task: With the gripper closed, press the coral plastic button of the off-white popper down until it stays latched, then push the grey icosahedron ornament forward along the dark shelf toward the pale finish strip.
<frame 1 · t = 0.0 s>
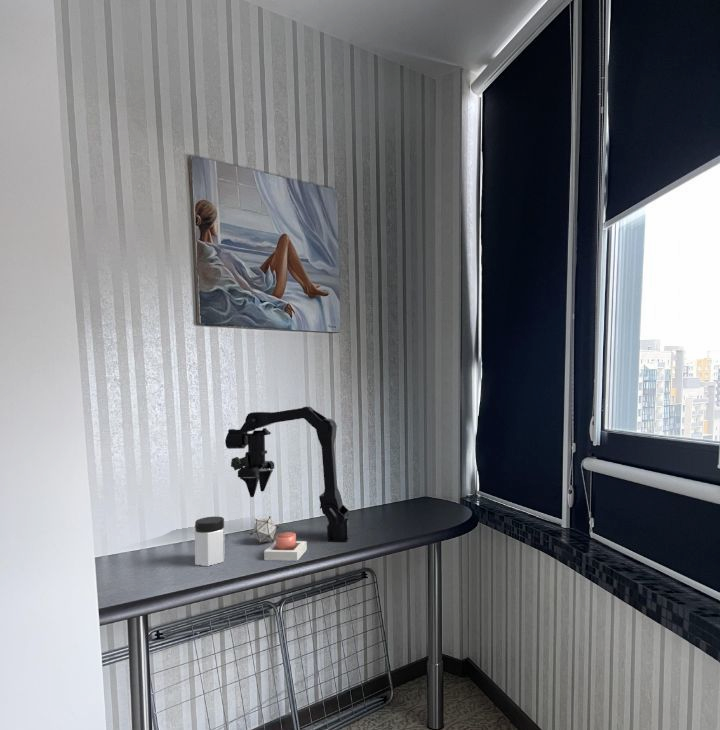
hand: (257, 494, 159), 15 cm above the table, tool pointing down, fingers open, 9 cm apart
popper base: (286, 554, 140), on the table
grey icosahedron ornament: (264, 543, 152), on the table
jar: (210, 562, 136), on the table
finish strip: (218, 543, 153), on the table
popper button: (285, 540, 140), point 4 cm above the table, slide at 0.0 cm
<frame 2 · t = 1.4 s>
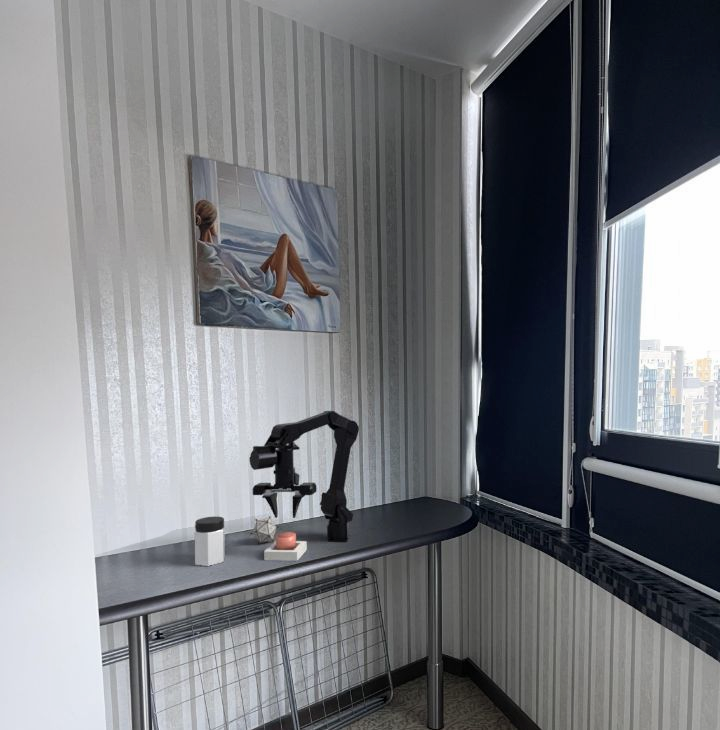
hand: (285, 517, 140), 11 cm above the table, tool pointing down, fingers open, 5 cm apart
nothing on the table moved.
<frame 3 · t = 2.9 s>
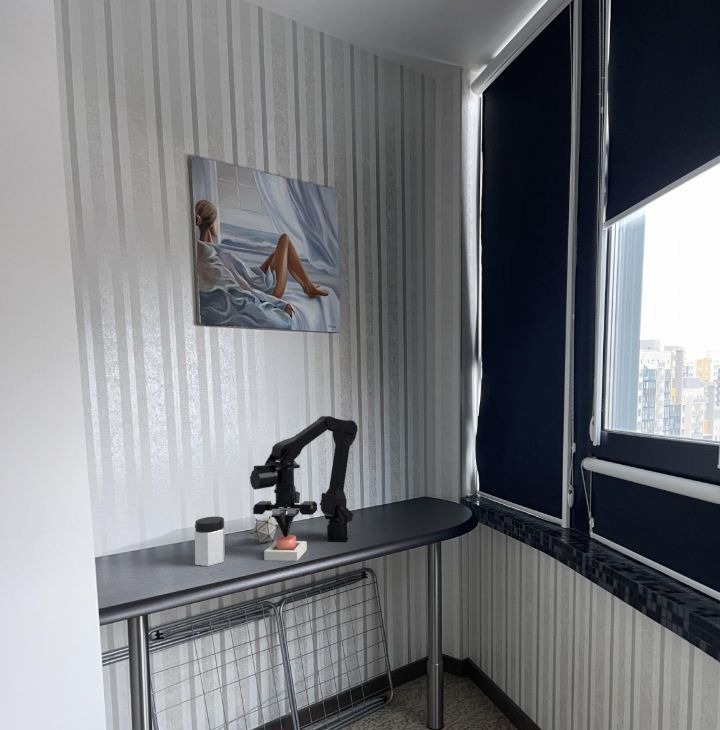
hand: (286, 536, 140), 5 cm above the table, tool pointing down, fingers closed, pressing on popper button
popper button: (285, 543, 140), point 3 cm above the table, slide at 0.8 cm, touching gripper
everything else where it was.
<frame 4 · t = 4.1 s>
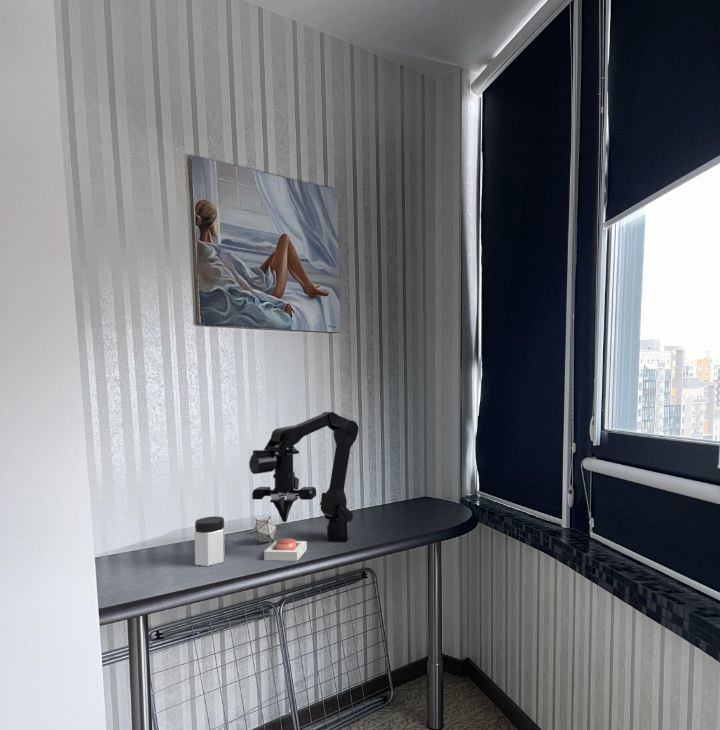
hand: (284, 521, 140), 10 cm above the table, tool pointing down, fingers closed
popper button: (286, 547, 140), point 2 cm above the table, slide at 1.9 cm
everything else where it was.
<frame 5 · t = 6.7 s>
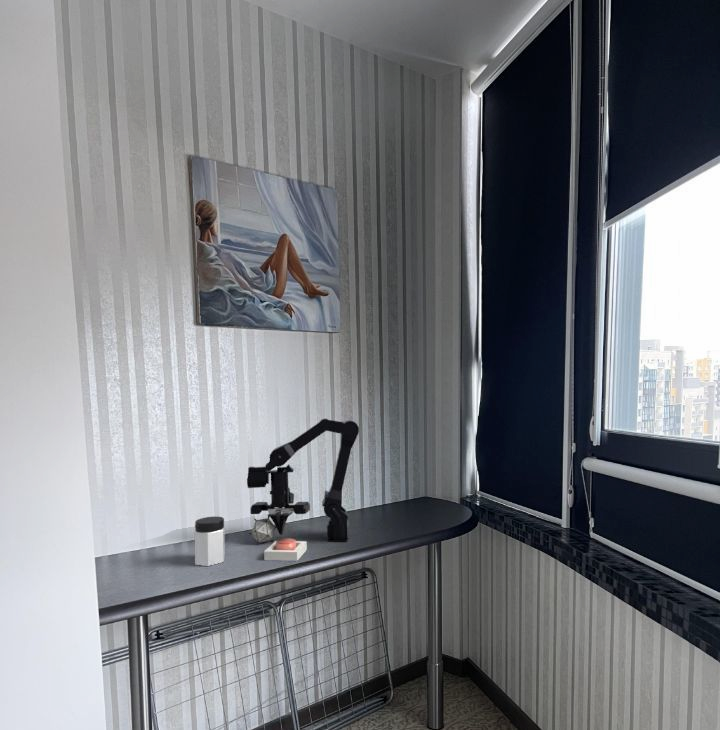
hand: (281, 534, 151), 3 cm above the table, tool pointing down, fingers closed
grey icosahedron ornament: (263, 543, 152), on the table, touching gripper
everything else where it was.
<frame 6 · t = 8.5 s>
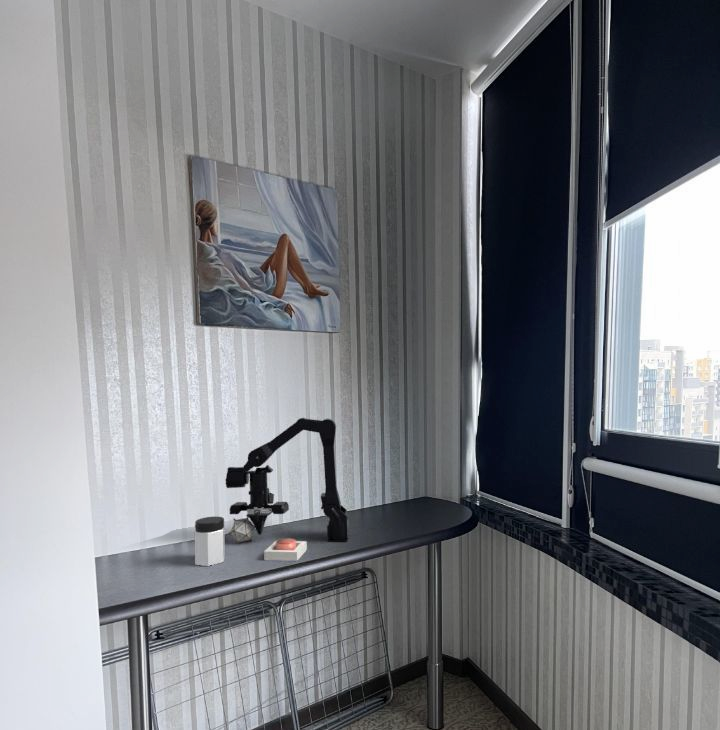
hand: (260, 534, 153), 3 cm above the table, tool pointing down, fingers closed
grey icosahedron ornament: (242, 542, 154), on the table, touching gripper
everything else where it was.
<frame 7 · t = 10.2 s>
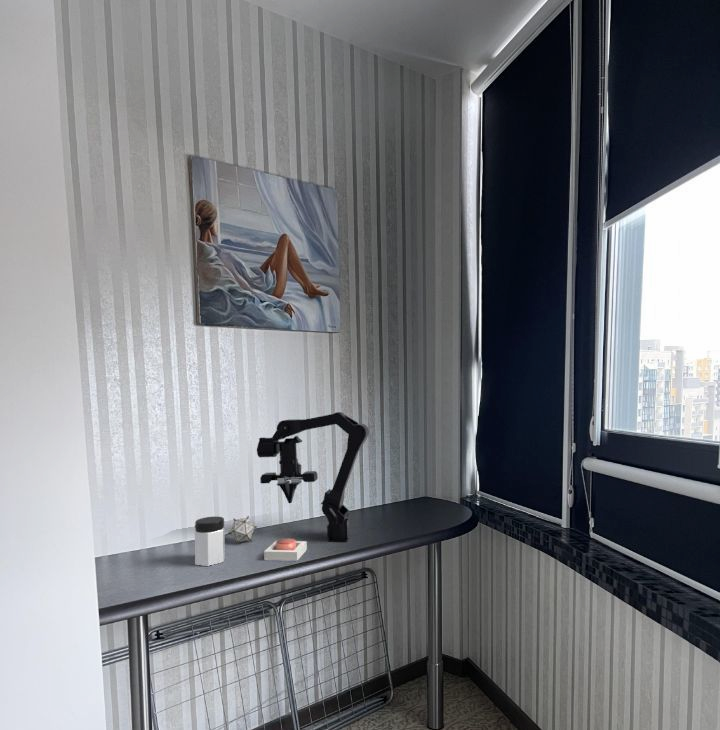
hand: (290, 502, 157), 12 cm above the table, tool pointing down, fingers closed
grey icosahedron ornament: (242, 542, 154), on the table
everything else where it was.
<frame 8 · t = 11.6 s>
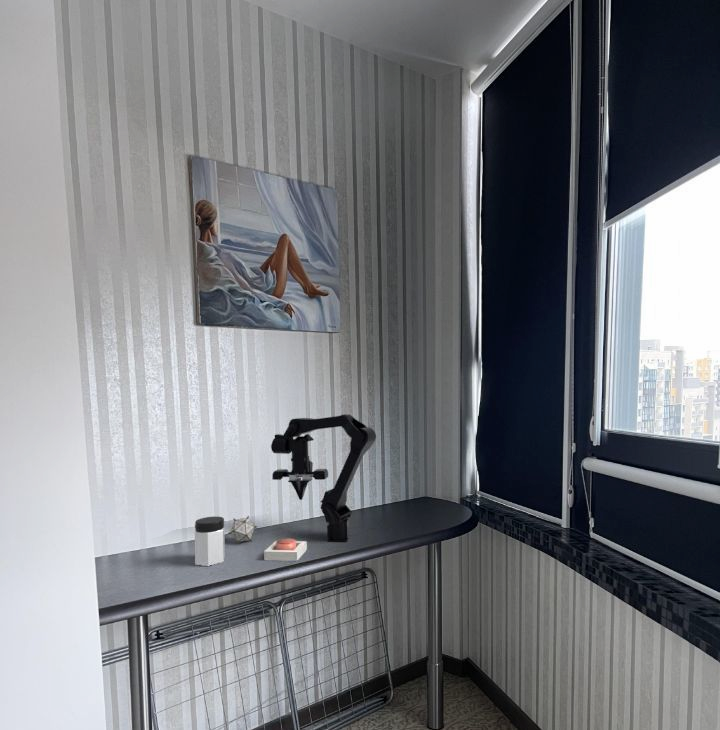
hand: (301, 499, 160), 12 cm above the table, tool pointing down, fingers closed
nothing on the table moved.
at the end: grey icosahedron ornament inside the target area (2.4 cm from its centre), on the table; popper button slide at 1.9 cm; grey icosahedron ornament tilted 0° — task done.
